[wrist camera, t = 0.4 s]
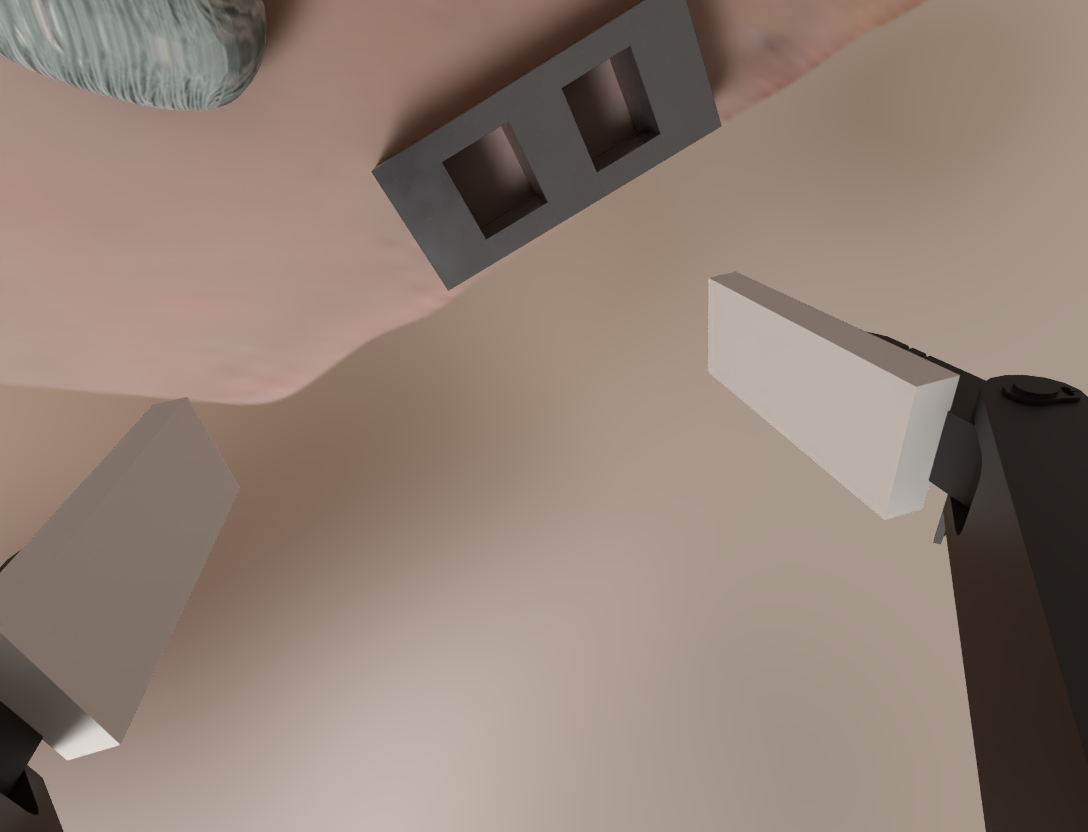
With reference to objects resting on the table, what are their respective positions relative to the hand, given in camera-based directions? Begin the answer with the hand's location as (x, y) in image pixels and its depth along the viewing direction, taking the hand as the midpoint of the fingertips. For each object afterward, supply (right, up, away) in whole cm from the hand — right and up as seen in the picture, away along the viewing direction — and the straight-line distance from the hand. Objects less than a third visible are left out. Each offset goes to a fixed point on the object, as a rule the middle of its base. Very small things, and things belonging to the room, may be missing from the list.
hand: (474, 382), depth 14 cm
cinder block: (+2, +17, +21) cm, 27 cm away
